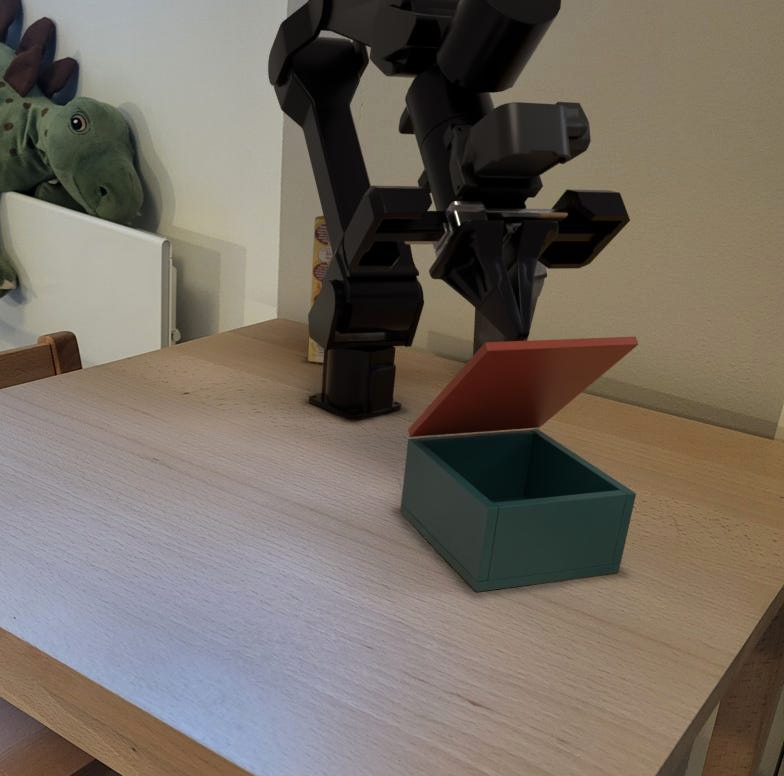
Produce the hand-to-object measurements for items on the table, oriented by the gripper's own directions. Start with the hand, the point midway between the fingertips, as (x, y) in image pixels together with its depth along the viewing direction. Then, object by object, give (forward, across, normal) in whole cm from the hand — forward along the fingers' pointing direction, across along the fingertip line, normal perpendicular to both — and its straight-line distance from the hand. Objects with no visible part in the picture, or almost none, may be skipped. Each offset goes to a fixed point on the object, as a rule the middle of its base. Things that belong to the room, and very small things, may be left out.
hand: (520, 339), depth 58 cm
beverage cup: (-12, +18, +31) cm, 38 cm away
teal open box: (+11, 0, +8) cm, 14 cm away
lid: (+3, 0, +2) cm, 4 cm away
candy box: (-21, +4, +40) cm, 45 cm away
